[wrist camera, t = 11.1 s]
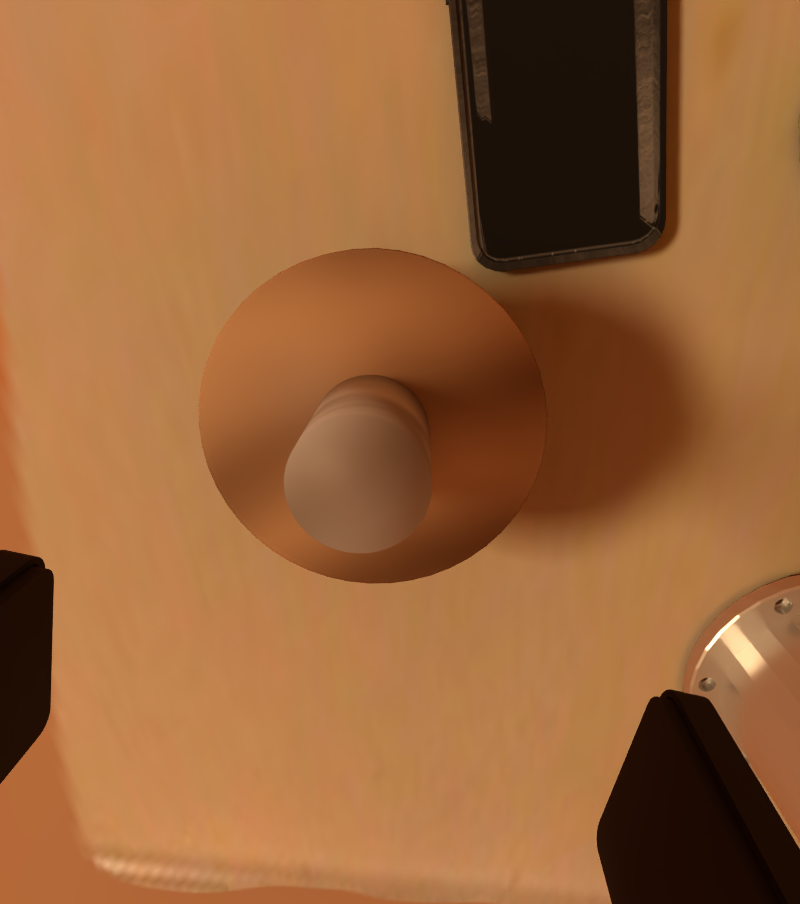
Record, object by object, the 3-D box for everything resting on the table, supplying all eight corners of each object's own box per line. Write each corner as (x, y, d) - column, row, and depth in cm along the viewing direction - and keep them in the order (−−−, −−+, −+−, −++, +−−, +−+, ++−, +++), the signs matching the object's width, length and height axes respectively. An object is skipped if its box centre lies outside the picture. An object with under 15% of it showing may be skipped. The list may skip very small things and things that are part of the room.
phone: (668, -227, 20) (666, 248, 25) (656, -204, 22) (656, 248, 26) (429, -182, 21) (472, 275, 26) (429, -162, 22) (470, 273, 27)
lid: (593, 486, 23) (650, 571, 17) (317, 612, 25) (286, 725, 20) (446, 177, 20) (456, 154, 14) (144, 354, 22) (44, 397, 16)
